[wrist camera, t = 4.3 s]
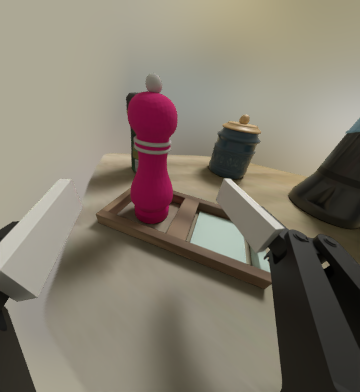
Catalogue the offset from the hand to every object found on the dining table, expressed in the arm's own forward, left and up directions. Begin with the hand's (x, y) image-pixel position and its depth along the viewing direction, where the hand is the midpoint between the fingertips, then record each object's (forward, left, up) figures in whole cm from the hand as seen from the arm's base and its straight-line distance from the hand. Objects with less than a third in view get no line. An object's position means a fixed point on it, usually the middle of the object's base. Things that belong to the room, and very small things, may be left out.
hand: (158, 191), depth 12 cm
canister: (-39, +8, -11) cm, 41 cm away
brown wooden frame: (-8, +2, -11) cm, 13 cm away
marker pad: (-8, +8, -11) cm, 16 cm away
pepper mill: (-8, -5, -11) cm, 14 cm away
